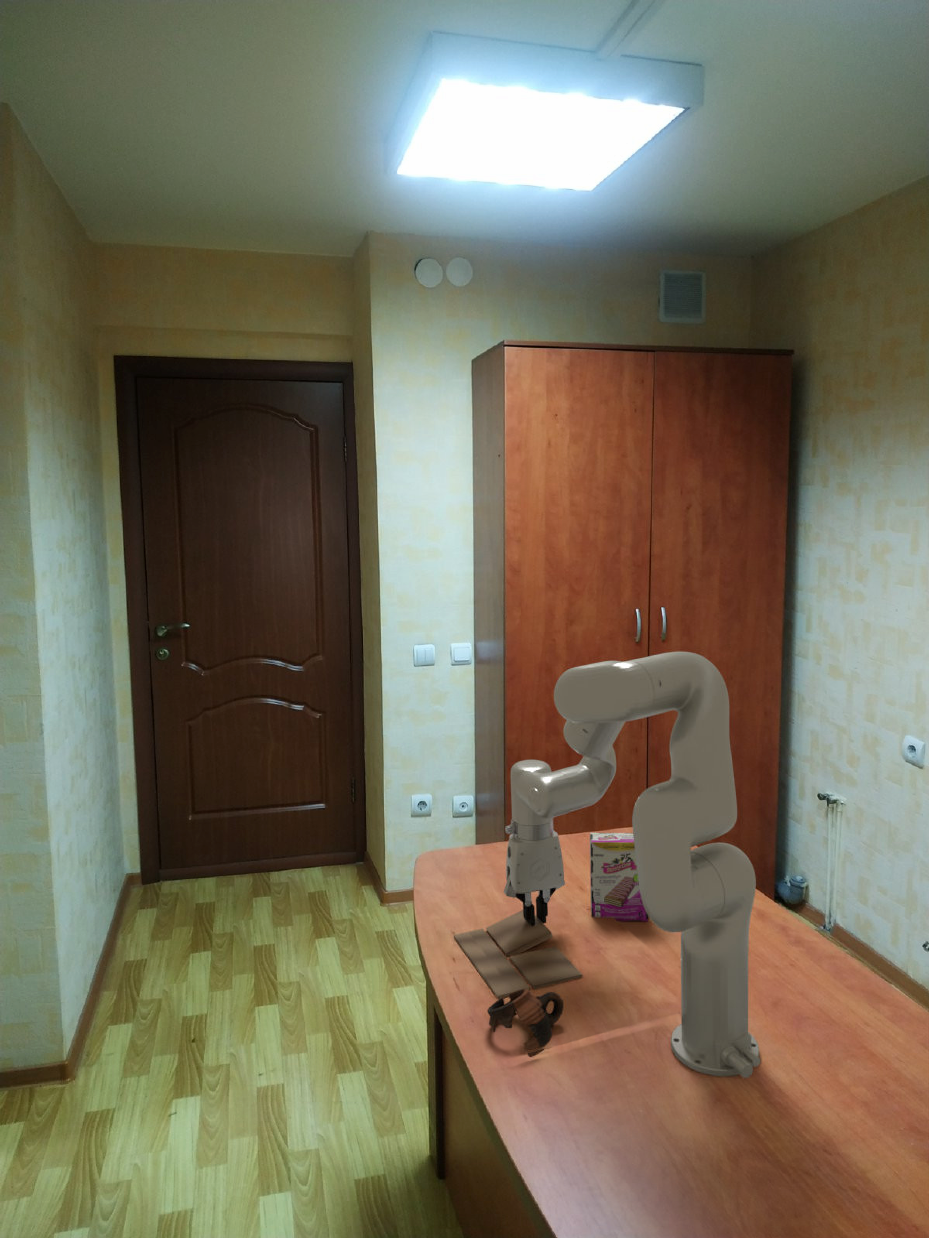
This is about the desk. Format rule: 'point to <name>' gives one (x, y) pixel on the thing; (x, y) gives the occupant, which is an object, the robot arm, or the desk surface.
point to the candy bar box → (615, 878)
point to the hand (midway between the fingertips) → (535, 920)
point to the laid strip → (490, 963)
